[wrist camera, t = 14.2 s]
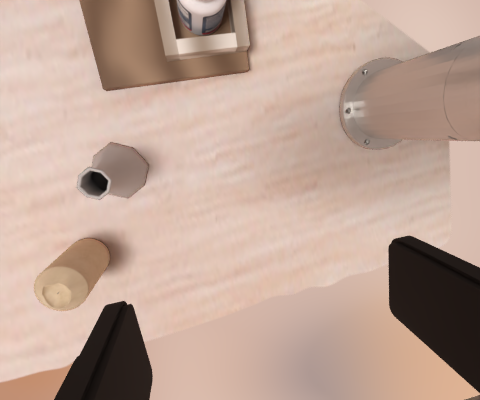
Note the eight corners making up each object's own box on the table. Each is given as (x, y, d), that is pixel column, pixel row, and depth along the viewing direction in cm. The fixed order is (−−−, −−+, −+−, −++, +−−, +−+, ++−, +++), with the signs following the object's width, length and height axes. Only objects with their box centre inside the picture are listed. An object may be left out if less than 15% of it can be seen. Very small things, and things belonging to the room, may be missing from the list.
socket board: (229, -54, 33) (234, -79, 29) (246, 72, 36) (253, 64, 32) (72, -42, 30) (54, -68, 26) (106, 90, 34) (96, 85, 30)
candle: (59, 251, 37) (13, 291, 28) (94, 230, 38) (60, 263, 28) (85, 280, 39) (50, 328, 29) (118, 260, 39) (94, 301, 30)
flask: (80, 179, 36) (39, 195, 26) (107, 132, 35) (75, 131, 25) (131, 206, 38) (110, 231, 28) (158, 162, 37) (146, 172, 27)
